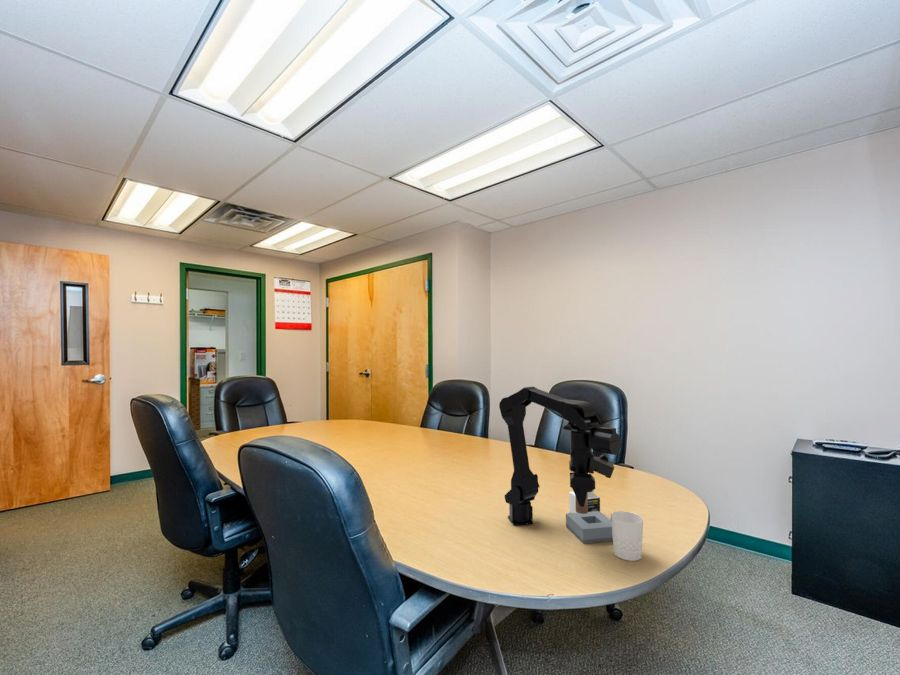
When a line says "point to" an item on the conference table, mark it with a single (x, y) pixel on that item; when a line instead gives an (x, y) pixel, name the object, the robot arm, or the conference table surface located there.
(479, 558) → the conference table surface
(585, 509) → the pin
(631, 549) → the white cup
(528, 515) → the robot arm
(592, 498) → the medicine bottle
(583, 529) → the socket block
